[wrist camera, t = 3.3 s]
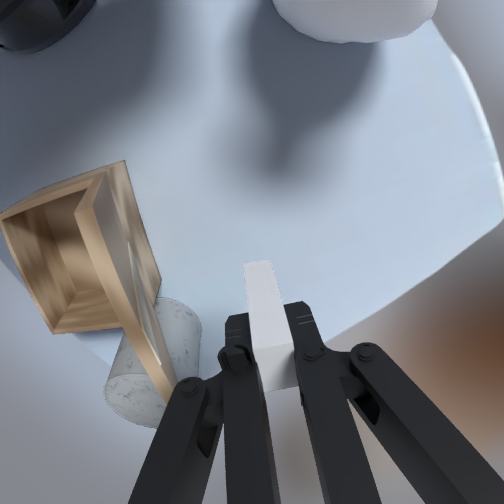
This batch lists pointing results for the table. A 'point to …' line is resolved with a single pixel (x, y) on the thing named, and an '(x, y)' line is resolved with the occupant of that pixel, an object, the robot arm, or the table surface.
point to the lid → (124, 282)
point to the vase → (355, 18)
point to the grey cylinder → (135, 376)
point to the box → (73, 251)
